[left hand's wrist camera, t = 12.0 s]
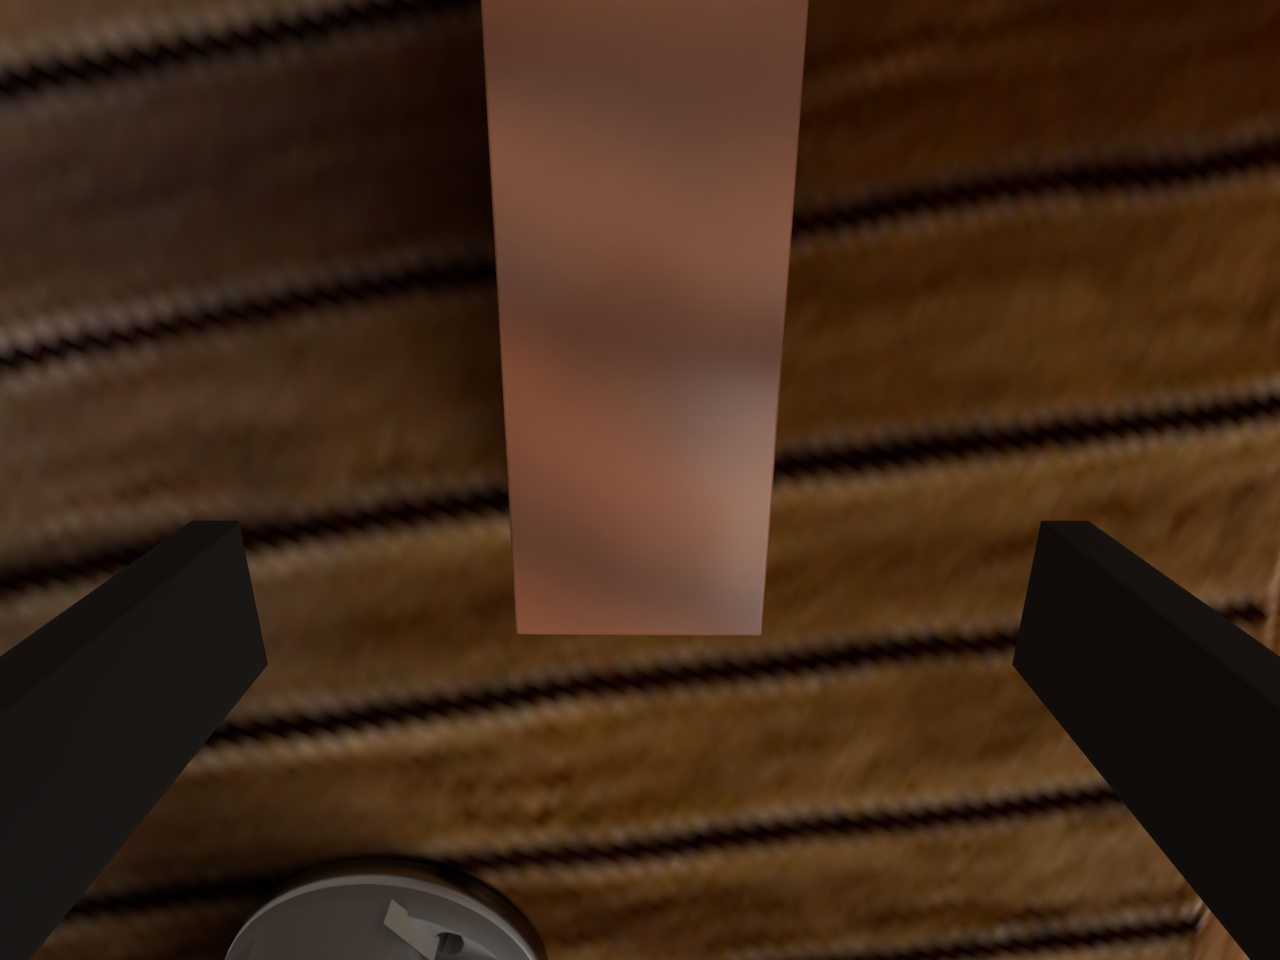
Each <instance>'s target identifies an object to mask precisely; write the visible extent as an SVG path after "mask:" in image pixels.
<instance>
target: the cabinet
mask: <svg viewBox="0 0 1280 960" xmlns="http://www.w3.org/2000/svg"><path fill="white" fill-rule="evenodd" d="M808 3H809V0H481V15H482V33H483V50H484V68H485V86H486V103H487V121H488V139H489V156H490V174H491V192H492V210H493V227H494V245H495V263H496V280H497V298H498V316H499V333H500V351H501V369H502V387H503V404H504V422H505V440H506V457H507V475H508V493H509V510H510V528H511V546H512V564H513V581H514V599H515V617H516V632H517V634H575V635H720V636H760V635H761V634H762V625H763V611H764V598H765V584H766V571H767V557H768V544H769V530H770V517H771V503H772V490H773V476H774V463H775V449H776V436H777V422H778V409H779V395H780V382H781V368H782V355H783V341H784V328H785V314H786V301H787V287H788V274H789V260H790V247H791V233H792V220H793V206H794V193H795V179H796V166H797V152H798V139H799V125H800V112H801V98H802V84H803V71H804V57H805V44H806V30H807V17H808Z"/></svg>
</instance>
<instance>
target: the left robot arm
mask: <svg viewBox="0 0 1280 960" xmlns="http://www.w3.org/2000/svg"><path fill="white" fill-rule="evenodd" d="M267 665H268V664H267V659H266V654H265V649H264V644H263V639H262V634H261V629H260V624H259V619H258V614H257V609H256V604H255V599H254V594H253V589H252V584H251V579H250V575H249V570H248V565H247V560H246V555H245V550H244V545H243V540H242V535H241V530H240V525H239V521H191V522H190V523H188V524H187V525H185V526H184V527H183V528H181V529H180V530H178V531H177V532H175V533H174V534H173V535H171V536H170V537H168V538H167V539H166V540H164V541H163V542H161V543H160V544H159V545H157V546H156V547H154V548H153V549H152V550H150V551H149V552H147V553H146V554H144V555H143V556H142V557H140V558H139V559H137V560H136V561H135V562H133V563H132V564H130V565H129V566H128V567H126V568H125V569H123V570H122V571H120V572H119V573H118V574H116V575H115V576H113V577H112V578H111V579H109V580H108V581H106V582H105V583H104V584H102V585H101V586H99V587H98V588H96V589H95V590H94V591H92V592H91V593H89V594H88V595H87V596H85V597H84V598H82V599H81V600H80V601H78V602H77V603H75V604H74V605H72V606H71V607H70V608H68V609H67V610H65V611H64V612H63V613H61V614H60V615H58V616H57V617H56V618H54V619H53V620H51V621H50V622H48V623H47V624H46V625H44V626H43V627H41V628H40V629H39V630H37V631H36V632H34V633H33V634H32V635H30V636H29V637H27V638H26V639H24V640H23V641H22V642H20V643H19V644H17V645H16V646H15V647H13V648H12V649H10V650H9V651H8V652H6V653H5V654H3V655H2V656H1V657H0V960H30V959H31V957H32V956H33V955H34V954H35V952H36V951H37V950H38V949H39V947H40V946H41V945H42V944H43V943H44V941H45V940H46V939H47V938H48V936H49V935H50V934H51V933H52V931H53V930H54V929H55V928H56V926H57V925H58V924H59V923H60V921H61V920H62V919H63V918H64V917H65V915H66V914H67V913H68V912H69V910H70V909H71V908H72V907H73V905H74V904H75V903H76V902H77V900H78V899H79V898H80V897H81V895H82V894H83V893H84V892H85V890H86V889H87V888H88V887H89V886H90V884H91V883H92V882H93V881H94V879H95V878H96V877H97V876H98V874H99V873H100V872H101V871H102V869H103V868H104V867H105V866H106V864H107V863H108V862H109V861H110V860H111V858H112V857H113V856H114V855H115V853H116V852H117V851H118V850H119V848H120V847H121V846H122V845H123V843H124V842H125V841H126V840H127V838H128V837H129V836H130V835H131V833H132V832H133V831H134V830H135V829H136V827H137V826H138V825H139V824H140V822H141V821H142V820H143V819H144V817H145V816H146V815H147V814H148V812H149V811H150V810H151V809H152V807H153V806H154V805H155V804H156V802H157V801H158V800H159V799H160V798H161V796H162V795H163V794H164V793H165V791H166V790H167V789H168V788H169V786H170V785H171V784H172V783H173V781H174V780H175V779H176V778H177V776H178V775H179V774H180V773H181V772H182V770H183V769H184V768H185V767H186V765H187V764H188V763H189V762H190V760H191V759H192V758H193V757H194V755H195V754H196V753H197V752H198V750H199V749H200V748H201V747H202V745H203V744H204V743H205V742H206V741H207V739H208V738H209V737H210V736H211V734H212V733H213V732H214V731H215V729H216V728H217V727H218V726H219V724H220V723H221V722H222V721H223V719H224V718H225V717H226V716H227V715H228V713H229V712H230V711H231V710H232V708H233V707H234V706H235V705H236V703H237V702H238V701H239V700H240V698H241V697H242V696H243V695H244V693H245V692H246V691H247V690H248V688H249V687H250V686H251V685H252V684H253V682H254V681H255V680H256V679H257V677H258V676H259V675H260V674H261V672H262V671H263V670H264V669H265V667H266V666H267ZM1012 665H1013V666H1014V667H1015V669H1016V670H1017V671H1018V672H1019V674H1020V675H1021V676H1022V677H1023V679H1024V680H1025V681H1026V682H1027V684H1028V685H1029V686H1030V687H1031V688H1032V690H1033V691H1034V692H1035V693H1036V695H1037V696H1038V697H1039V698H1040V700H1041V701H1042V702H1043V703H1044V705H1045V706H1046V707H1047V708H1048V710H1049V711H1050V712H1051V713H1052V715H1053V716H1054V717H1055V718H1056V719H1057V721H1058V722H1059V723H1060V724H1061V726H1062V727H1063V728H1064V729H1065V731H1066V732H1067V733H1068V734H1069V736H1070V737H1071V738H1072V739H1073V741H1074V742H1075V743H1076V744H1077V745H1078V747H1079V748H1080V749H1081V750H1082V752H1083V753H1084V754H1085V755H1086V757H1087V758H1088V759H1089V760H1090V762H1091V763H1092V764H1093V765H1094V767H1095V768H1096V769H1097V770H1098V772H1099V773H1100V774H1101V775H1102V776H1103V778H1104V779H1105V780H1106V781H1107V783H1108V784H1109V785H1110V786H1111V788H1112V789H1113V790H1114V791H1115V793H1116V794H1117V795H1118V796H1119V798H1120V799H1121V800H1122V801H1123V803H1124V804H1125V805H1126V806H1127V807H1128V809H1129V810H1130V811H1131V812H1132V814H1133V815H1134V816H1135V817H1136V819H1137V820H1138V821H1139V822H1140V824H1141V825H1142V826H1143V827H1144V829H1145V830H1146V831H1147V832H1148V833H1149V835H1150V836H1151V837H1152V838H1153V840H1154V841H1155V842H1156V843H1157V845H1158V846H1159V847H1160V848H1161V850H1162V851H1163V852H1164V853H1165V855H1166V856H1167V857H1168V858H1169V860H1170V861H1171V862H1172V863H1173V864H1174V866H1175V867H1176V868H1177V869H1178V871H1179V872H1180V873H1181V874H1182V876H1183V877H1184V878H1185V879H1186V881H1187V882H1188V883H1189V884H1190V886H1191V887H1192V888H1193V889H1194V890H1195V892H1196V893H1197V894H1198V895H1199V897H1200V898H1201V899H1202V900H1203V902H1204V903H1205V904H1206V905H1207V907H1208V908H1209V909H1210V910H1211V912H1212V913H1213V914H1214V915H1215V917H1216V918H1217V919H1218V920H1219V921H1220V923H1221V924H1222V925H1223V926H1224V928H1225V929H1226V930H1227V931H1228V933H1229V934H1230V935H1231V936H1232V938H1233V939H1234V940H1235V941H1236V943H1237V944H1238V945H1239V946H1240V947H1241V949H1242V950H1243V951H1244V952H1245V954H1246V955H1247V956H1248V957H1249V959H1250V960H1280V657H1279V656H1278V655H1277V654H1275V653H1274V652H1272V651H1271V650H1270V649H1268V648H1267V647H1265V646H1264V645H1263V644H1261V643H1260V642H1258V641H1257V640H1256V639H1254V638H1253V637H1251V636H1250V635H1248V634H1247V633H1246V632H1244V631H1243V630H1241V629H1240V628H1239V627H1237V626H1236V625H1234V624H1233V623H1232V622H1230V621H1229V620H1227V619H1226V618H1224V617H1223V616H1222V615H1220V614H1219V613H1217V612H1216V611H1215V610H1213V609H1212V608H1210V607H1209V606H1208V605H1206V604H1205V603H1203V602H1202V601H1200V600H1199V599H1198V598H1196V597H1195V596H1193V595H1192V594H1191V593H1189V592H1188V591H1186V590H1185V589H1184V588H1182V587H1181V586H1179V585H1178V584H1176V583H1175V582H1174V581H1172V580H1171V579H1169V578H1168V577H1167V576H1165V575H1164V574H1162V573H1161V572H1160V571H1158V570H1157V569H1155V568H1154V567H1152V566H1151V565H1150V564H1148V563H1147V562H1145V561H1144V560H1143V559H1141V558H1140V557H1138V556H1137V555H1136V554H1134V553H1133V552H1131V551H1130V550H1128V549H1127V548H1126V547H1124V546H1123V545H1121V544H1120V543H1119V542H1117V541H1116V540H1114V539H1113V538H1112V537H1110V536H1109V535H1107V534H1106V533H1104V532H1103V531H1102V530H1100V529H1099V528H1097V527H1096V526H1095V525H1093V524H1092V523H1090V522H1089V521H1041V525H1040V530H1039V535H1038V540H1037V545H1036V550H1035V555H1034V560H1033V565H1032V570H1031V575H1030V579H1029V584H1028V589H1027V594H1026V599H1025V604H1024V609H1023V614H1022V619H1021V624H1020V629H1019V634H1018V639H1017V644H1016V649H1015V654H1014V659H1013V664H1012ZM225 960H547V956H546V954H545V951H544V949H543V946H542V944H541V943H540V941H539V939H538V937H537V935H536V934H535V932H534V931H533V930H532V928H531V927H530V925H529V924H528V923H527V922H526V921H525V919H524V918H523V917H522V916H521V915H520V914H519V913H518V912H517V911H516V910H515V909H514V908H513V907H512V906H511V905H509V904H508V903H507V902H506V901H504V900H503V899H502V898H500V897H499V896H498V895H496V894H495V893H493V892H492V891H490V890H488V889H487V888H485V887H483V886H482V885H480V884H478V883H476V882H474V881H472V880H470V879H468V878H465V877H463V876H461V875H459V874H456V873H453V872H450V871H447V870H445V869H442V868H438V867H434V866H430V865H427V864H422V863H417V862H411V861H404V860H395V859H356V860H347V861H340V862H335V863H330V864H326V865H322V866H319V867H315V868H312V869H309V870H307V871H304V872H302V873H299V874H297V875H295V876H293V877H291V878H289V879H287V880H285V881H284V882H282V883H281V884H279V885H277V886H276V887H274V888H273V889H272V890H271V891H269V892H268V893H267V894H266V895H264V896H263V897H262V898H261V899H260V900H259V901H258V902H257V904H256V905H255V906H254V907H253V909H252V910H251V911H250V913H249V914H248V916H247V917H246V919H245V921H244V923H243V924H242V926H241V928H240V930H239V932H238V934H237V935H236V937H235V939H234V941H233V943H232V944H231V946H230V948H229V950H228V953H227V955H226V958H225Z"/></svg>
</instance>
